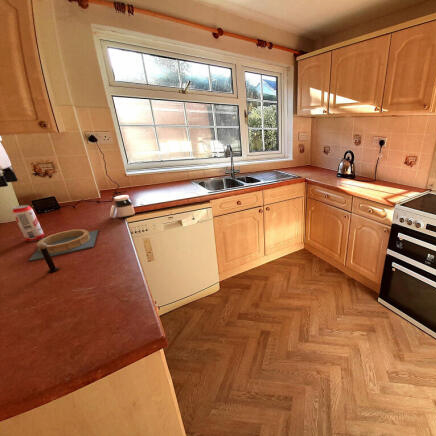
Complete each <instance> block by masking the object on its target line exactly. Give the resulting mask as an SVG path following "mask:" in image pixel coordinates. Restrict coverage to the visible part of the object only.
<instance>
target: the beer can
mask: <svg viewBox="0 0 436 436" xmlns="http://www.w3.org/2000/svg"><path fill="white" fill-rule="evenodd" d="M12 215H13V216H14V218H15V221H16V223H17V225H18V227H19V230H20V231H21V233H22V236H23V237H24V239H25V241H26V242H29V243H30V242H31V243H32V242H37V241H38V242H39V241H40V240H42V239H44V238H45V233H44V230H43V228H42V226H41V224H40V222H39V220H38V218H37V216H36V214H35V211H34V209H33V208H32V207H31V206H30V204H22V205H21V204H20V205H17V206H14V207H12Z"/></svg>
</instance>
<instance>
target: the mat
mask: <svg viewBox="0 0 436 436" xmlns="http://www.w3.org/2000/svg"><path fill="white" fill-rule="evenodd" d="M88 232H89V235H90V239H89V241H87V242H86V243H84V244H82V245H81V246H78V247H75V248H72V249H70V250H66V251H61V252H57V253H49V254H50V256H51V258H53V257H57V256H61V255H66V254H69V253H74V252H78V251H84V250H88V249H92V248H94V246H95V243H96V239H97V236H98V234H99V229H97V230H92V231H88ZM79 237H81V236H76V237H70V238H65V239H62V240H59V241H56V242H53V243H51V244H49V245H56V244H61V243H66V242H69V241H72V240H75V239H77V238H79ZM44 259H45V258H44V256H43V254H42V252H40V251H39V249H38V248H36V250H35V251H34V253H32V255H31V256H30V258H29V259H28V262H35V261H38V260H44Z"/></svg>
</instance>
